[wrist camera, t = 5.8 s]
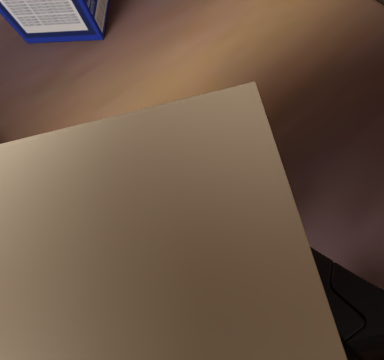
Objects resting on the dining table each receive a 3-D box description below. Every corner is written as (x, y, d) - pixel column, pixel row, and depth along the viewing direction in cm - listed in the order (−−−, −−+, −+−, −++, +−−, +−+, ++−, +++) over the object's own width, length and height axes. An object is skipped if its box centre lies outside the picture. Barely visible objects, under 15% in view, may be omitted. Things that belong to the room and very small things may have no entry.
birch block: (253, 313, 14) (433, 619, 2) (162, 332, 15) (-168, 710, 2) (230, 221, 16) (254, 80, 4) (148, 239, 16) (-95, 167, 4)
